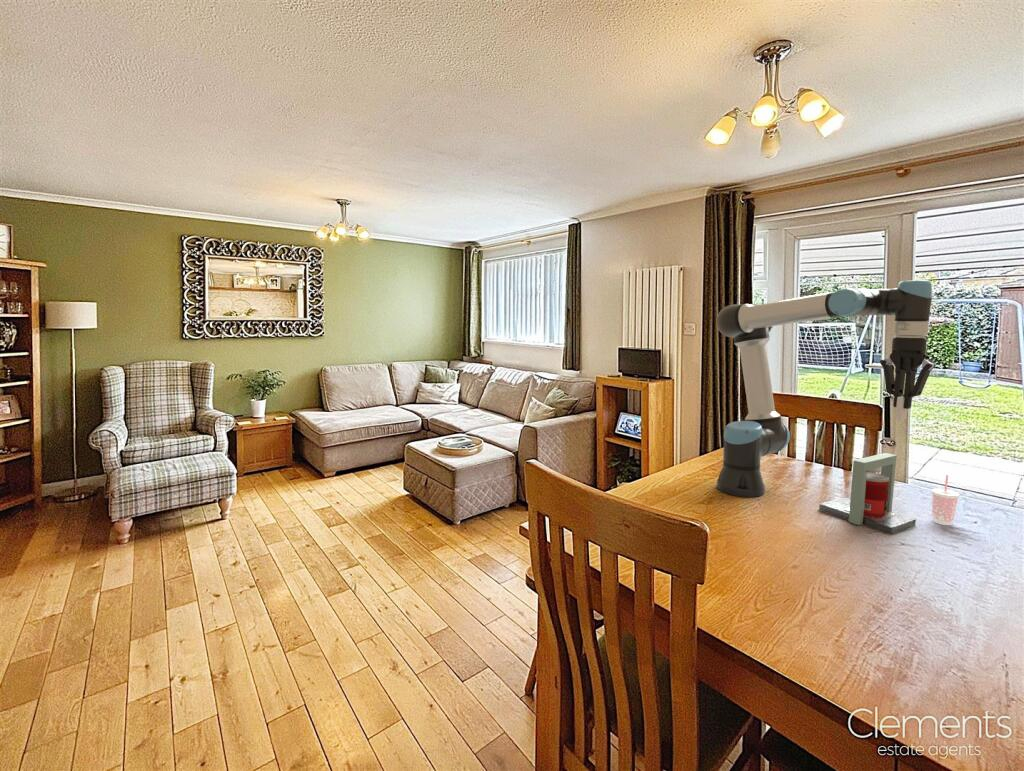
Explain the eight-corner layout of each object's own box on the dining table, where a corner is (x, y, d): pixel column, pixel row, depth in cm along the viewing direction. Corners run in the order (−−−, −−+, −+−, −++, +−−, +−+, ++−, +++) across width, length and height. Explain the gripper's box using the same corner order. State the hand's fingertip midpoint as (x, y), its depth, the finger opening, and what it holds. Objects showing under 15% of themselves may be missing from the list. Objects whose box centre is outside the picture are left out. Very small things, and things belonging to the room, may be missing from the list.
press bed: (819, 509, 154) (819, 503, 154) (842, 503, 160) (843, 496, 159) (891, 534, 137) (891, 526, 136) (915, 526, 142) (916, 518, 141)
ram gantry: (848, 521, 145) (853, 460, 142) (880, 511, 152) (885, 452, 149) (859, 525, 142) (864, 462, 140) (891, 515, 149) (896, 455, 146)
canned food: (891, 517, 142) (895, 480, 141) (860, 515, 144) (863, 479, 142) (878, 507, 150) (881, 472, 148) (848, 506, 151) (851, 471, 150)
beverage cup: (943, 527, 141) (949, 479, 139) (922, 518, 147) (927, 472, 145) (962, 525, 142) (967, 477, 140) (940, 516, 148) (945, 471, 146)
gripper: (876, 336, 144) (868, 416, 147) (929, 338, 132) (919, 425, 135) (891, 335, 147) (883, 413, 150) (945, 337, 135) (934, 422, 139)
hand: (900, 419), depth 143 cm, fingers closed
